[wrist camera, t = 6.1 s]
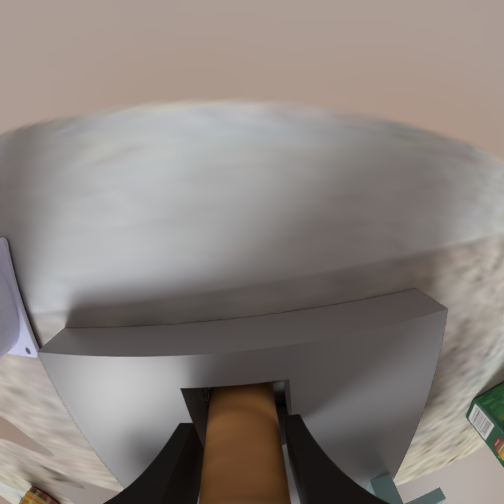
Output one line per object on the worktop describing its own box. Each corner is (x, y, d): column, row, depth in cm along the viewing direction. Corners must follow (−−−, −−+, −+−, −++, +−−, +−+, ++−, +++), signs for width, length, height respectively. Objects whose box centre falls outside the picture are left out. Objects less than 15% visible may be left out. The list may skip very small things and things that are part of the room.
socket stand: (148, 481, 16) (129, 554, 8) (64, 327, 13) (-24, 411, 5) (380, 459, 16) (412, 531, 8) (416, 288, 13) (527, 364, 5)
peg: (218, 402, 14) (210, 522, 7) (207, 360, 14) (187, 493, 6) (273, 397, 14) (292, 517, 7) (268, 354, 14) (290, 489, 6)
